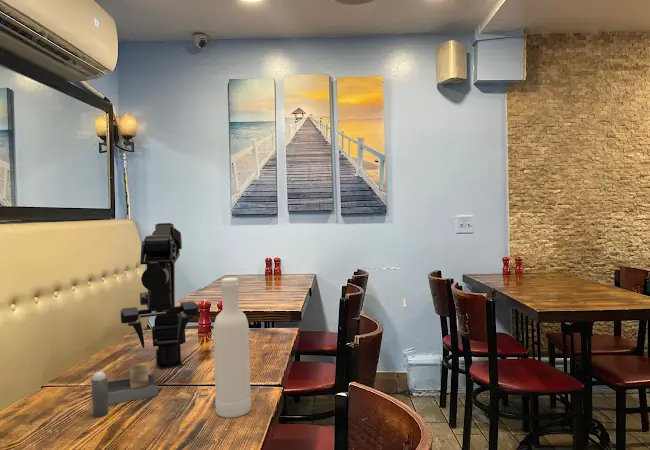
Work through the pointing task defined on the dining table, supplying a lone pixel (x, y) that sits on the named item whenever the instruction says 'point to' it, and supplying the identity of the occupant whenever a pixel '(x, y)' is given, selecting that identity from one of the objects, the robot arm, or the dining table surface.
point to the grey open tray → (130, 390)
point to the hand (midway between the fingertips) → (161, 345)
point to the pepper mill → (99, 394)
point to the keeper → (138, 376)
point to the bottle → (231, 355)
